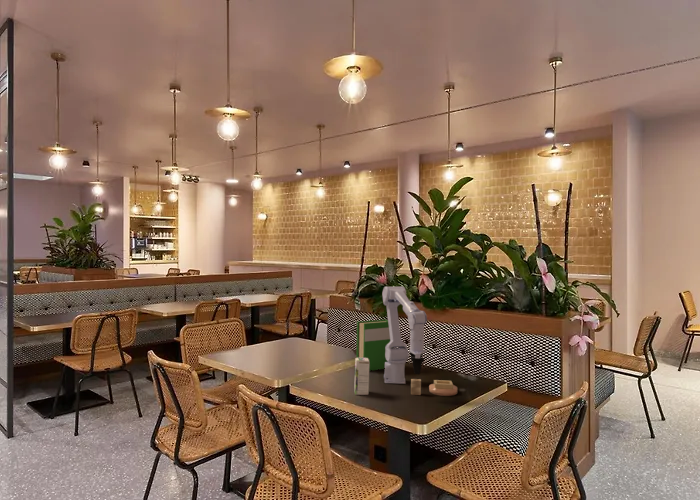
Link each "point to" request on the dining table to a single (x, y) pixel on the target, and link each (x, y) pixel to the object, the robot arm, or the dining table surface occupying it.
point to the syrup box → (361, 376)
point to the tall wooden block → (415, 386)
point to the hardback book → (373, 342)
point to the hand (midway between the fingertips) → (416, 371)
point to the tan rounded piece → (443, 388)
